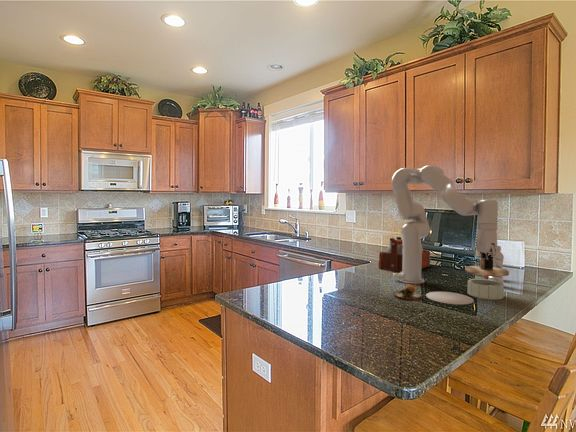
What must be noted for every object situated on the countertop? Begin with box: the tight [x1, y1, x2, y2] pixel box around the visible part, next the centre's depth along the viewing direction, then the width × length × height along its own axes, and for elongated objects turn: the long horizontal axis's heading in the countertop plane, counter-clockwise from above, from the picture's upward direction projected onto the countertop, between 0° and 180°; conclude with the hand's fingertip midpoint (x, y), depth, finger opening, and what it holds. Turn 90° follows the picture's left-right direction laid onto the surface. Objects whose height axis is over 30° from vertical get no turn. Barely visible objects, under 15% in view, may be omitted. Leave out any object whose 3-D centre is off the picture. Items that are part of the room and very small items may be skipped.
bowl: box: [466, 278, 505, 300], centre depth 155 cm, size 14×14×6 cm
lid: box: [464, 257, 510, 277], centre depth 154 cm, size 17×17×6 cm
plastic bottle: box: [487, 245, 505, 284], centre depth 173 cm, size 6×7×20 cm
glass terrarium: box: [393, 284, 422, 301], centre depth 152 cm, size 12×12×8 cm
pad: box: [425, 291, 475, 305], centre depth 151 cm, size 19×19×1 cm
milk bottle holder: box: [378, 236, 431, 273], centre depth 217 cm, size 21×35×19 cm, turn 137°
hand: (486, 267), depth 154 cm, fingers closed on lid, 3 cm apart
